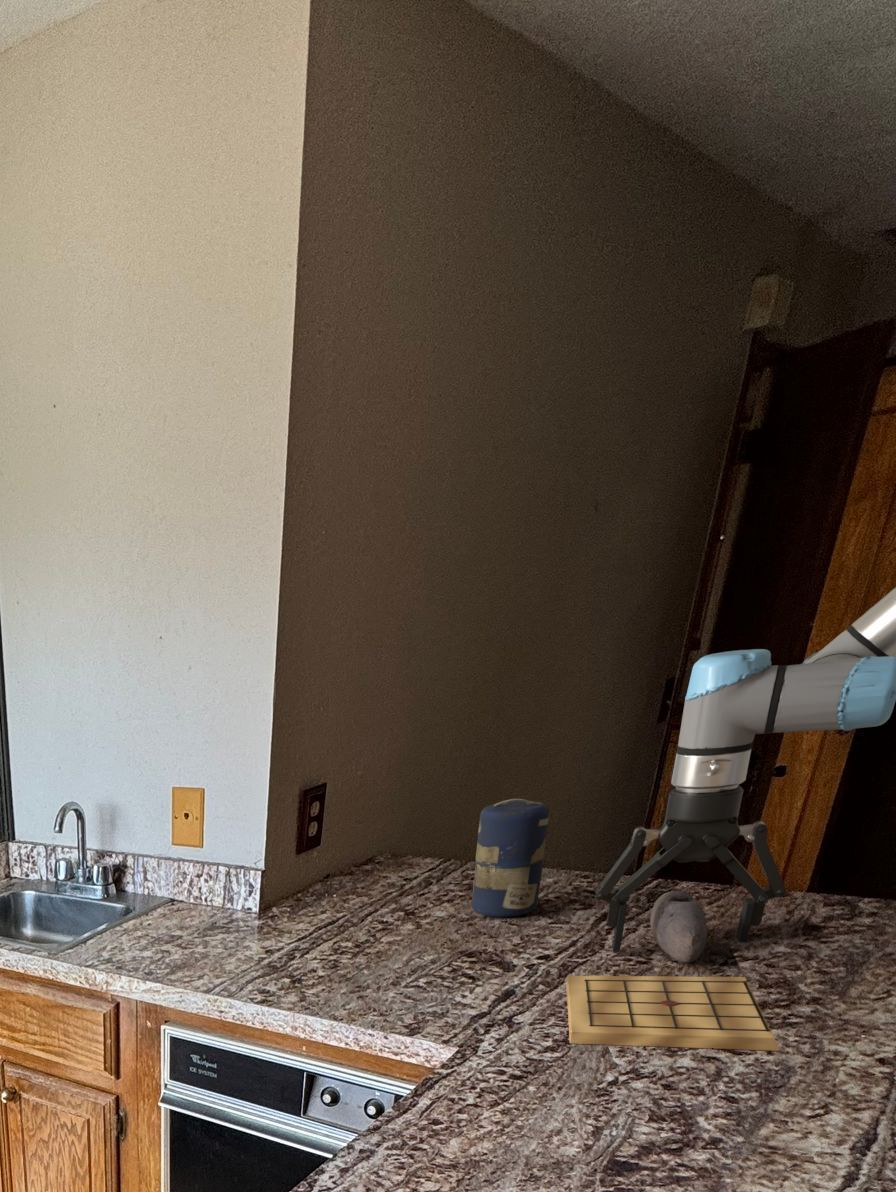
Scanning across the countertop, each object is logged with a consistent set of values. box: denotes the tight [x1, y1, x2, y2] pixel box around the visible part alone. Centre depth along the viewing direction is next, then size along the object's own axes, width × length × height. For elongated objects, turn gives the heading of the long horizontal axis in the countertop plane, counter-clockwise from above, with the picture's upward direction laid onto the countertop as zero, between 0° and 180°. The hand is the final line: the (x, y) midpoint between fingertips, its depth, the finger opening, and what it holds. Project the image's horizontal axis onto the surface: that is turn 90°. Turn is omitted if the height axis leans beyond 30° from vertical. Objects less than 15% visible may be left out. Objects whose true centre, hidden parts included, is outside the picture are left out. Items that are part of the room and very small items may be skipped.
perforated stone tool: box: [649, 890, 708, 964], centre depth 133 cm, size 15×5×7 cm, turn 156°
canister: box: [471, 797, 550, 918], centre depth 157 cm, size 10×10×18 cm
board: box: [565, 975, 782, 1052], centre depth 117 cm, size 20×20×2 cm
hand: (675, 949), depth 134 cm, fingers open, 13 cm apart
